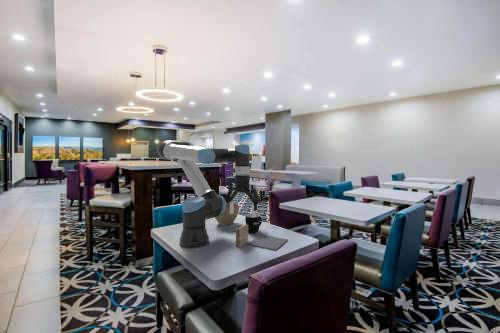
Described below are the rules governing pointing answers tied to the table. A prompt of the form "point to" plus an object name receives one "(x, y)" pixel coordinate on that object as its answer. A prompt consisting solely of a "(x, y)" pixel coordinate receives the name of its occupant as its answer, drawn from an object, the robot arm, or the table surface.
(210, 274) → the table surface
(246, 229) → the tile
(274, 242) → the mat
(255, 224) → the mug
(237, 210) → the flower pot
